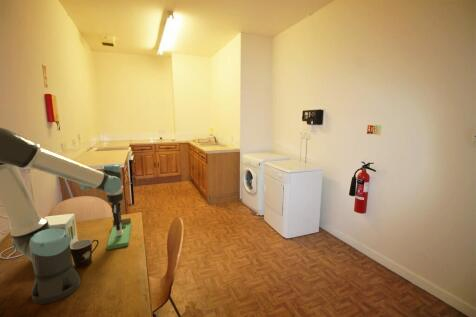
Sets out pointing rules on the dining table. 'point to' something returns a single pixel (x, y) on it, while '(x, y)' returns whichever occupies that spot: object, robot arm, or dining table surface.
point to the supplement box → (64, 225)
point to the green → (120, 240)
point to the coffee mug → (82, 252)
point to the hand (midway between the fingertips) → (119, 234)
